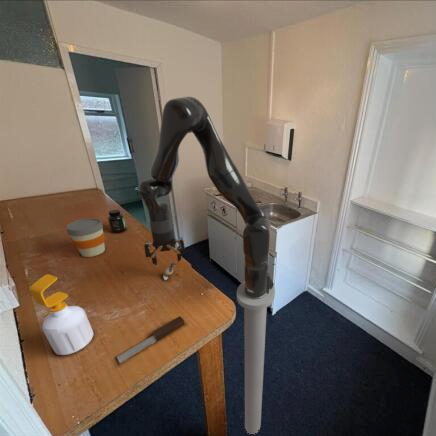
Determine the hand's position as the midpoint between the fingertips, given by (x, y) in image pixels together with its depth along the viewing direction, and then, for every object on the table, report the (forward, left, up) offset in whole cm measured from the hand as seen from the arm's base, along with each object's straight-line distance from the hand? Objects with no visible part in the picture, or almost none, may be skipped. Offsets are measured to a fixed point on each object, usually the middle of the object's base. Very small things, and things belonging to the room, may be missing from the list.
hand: (167, 262), depth 98 cm
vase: (0, 0, -8) cm, 8 cm away
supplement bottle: (+27, -50, -8) cm, 57 cm away
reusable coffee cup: (+34, -30, -8) cm, 46 cm away
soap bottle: (+26, +24, -8) cm, 36 cm away
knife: (+4, +31, -8) cm, 32 cm away
